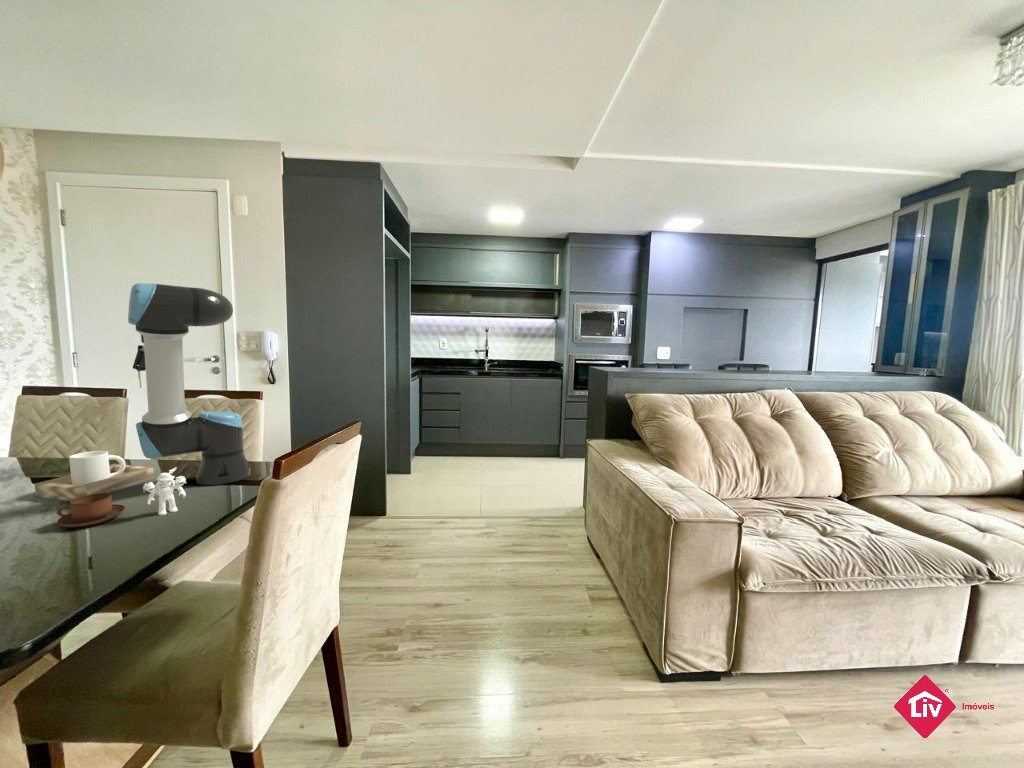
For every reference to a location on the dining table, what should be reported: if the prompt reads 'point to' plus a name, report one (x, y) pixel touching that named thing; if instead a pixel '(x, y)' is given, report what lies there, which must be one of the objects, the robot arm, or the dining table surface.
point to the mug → (93, 467)
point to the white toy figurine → (165, 491)
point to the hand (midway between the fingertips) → (158, 388)
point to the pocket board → (94, 483)
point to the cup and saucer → (89, 510)
